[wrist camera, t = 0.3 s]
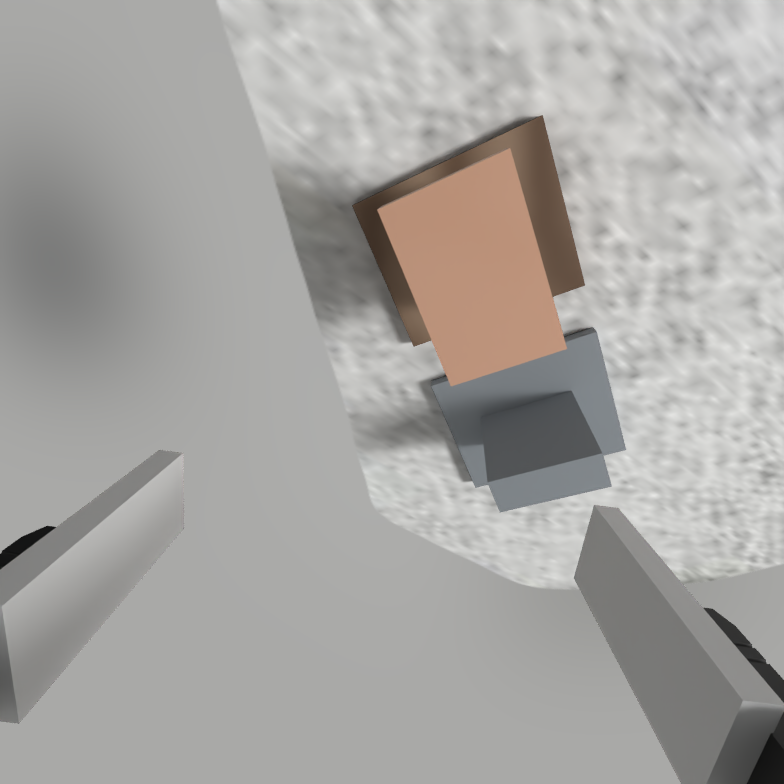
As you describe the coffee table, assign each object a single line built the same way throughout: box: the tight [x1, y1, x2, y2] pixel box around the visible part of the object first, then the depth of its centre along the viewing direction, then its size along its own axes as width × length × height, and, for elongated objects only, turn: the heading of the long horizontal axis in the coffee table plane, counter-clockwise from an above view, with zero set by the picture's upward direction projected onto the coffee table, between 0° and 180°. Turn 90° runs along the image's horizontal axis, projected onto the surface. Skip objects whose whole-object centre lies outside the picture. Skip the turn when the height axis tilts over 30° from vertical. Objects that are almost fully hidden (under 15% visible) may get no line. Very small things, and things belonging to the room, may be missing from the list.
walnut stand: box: [352, 115, 585, 346], centre depth 30 cm, size 14×12×10 cm
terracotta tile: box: [377, 148, 567, 386], centre depth 25 cm, size 7×11×2 cm, turn 24°
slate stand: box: [431, 328, 626, 512], centre depth 37 cm, size 14×12×10 cm
